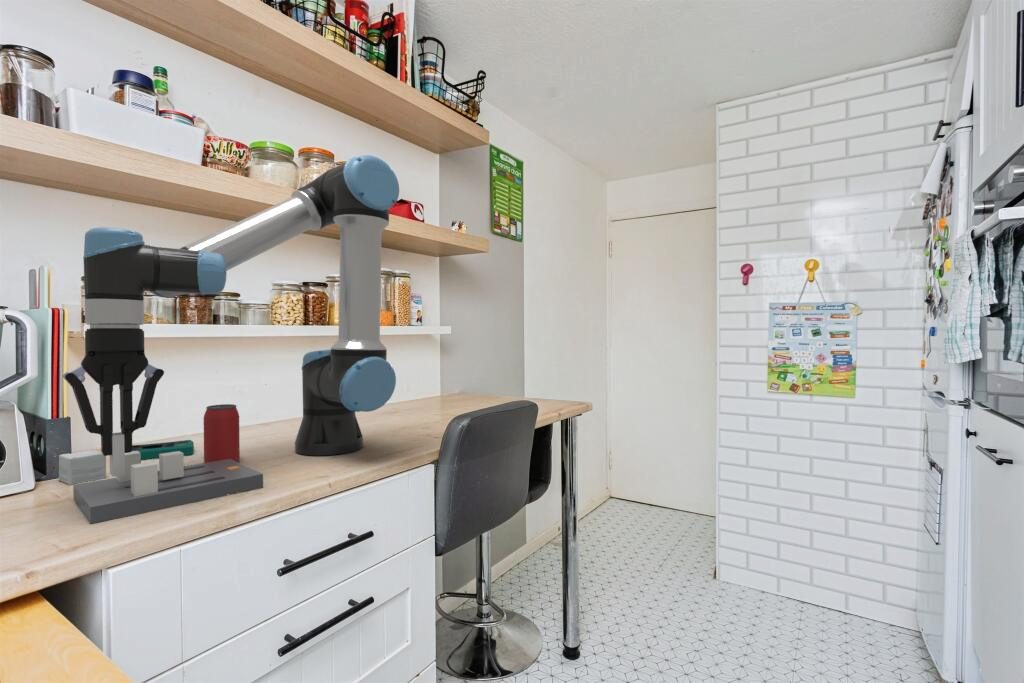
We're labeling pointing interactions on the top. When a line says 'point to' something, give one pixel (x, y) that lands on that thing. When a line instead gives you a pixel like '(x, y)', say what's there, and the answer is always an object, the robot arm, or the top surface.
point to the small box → (82, 467)
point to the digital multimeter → (164, 449)
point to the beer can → (221, 433)
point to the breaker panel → (160, 487)
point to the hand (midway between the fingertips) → (117, 474)
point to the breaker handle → (171, 465)
